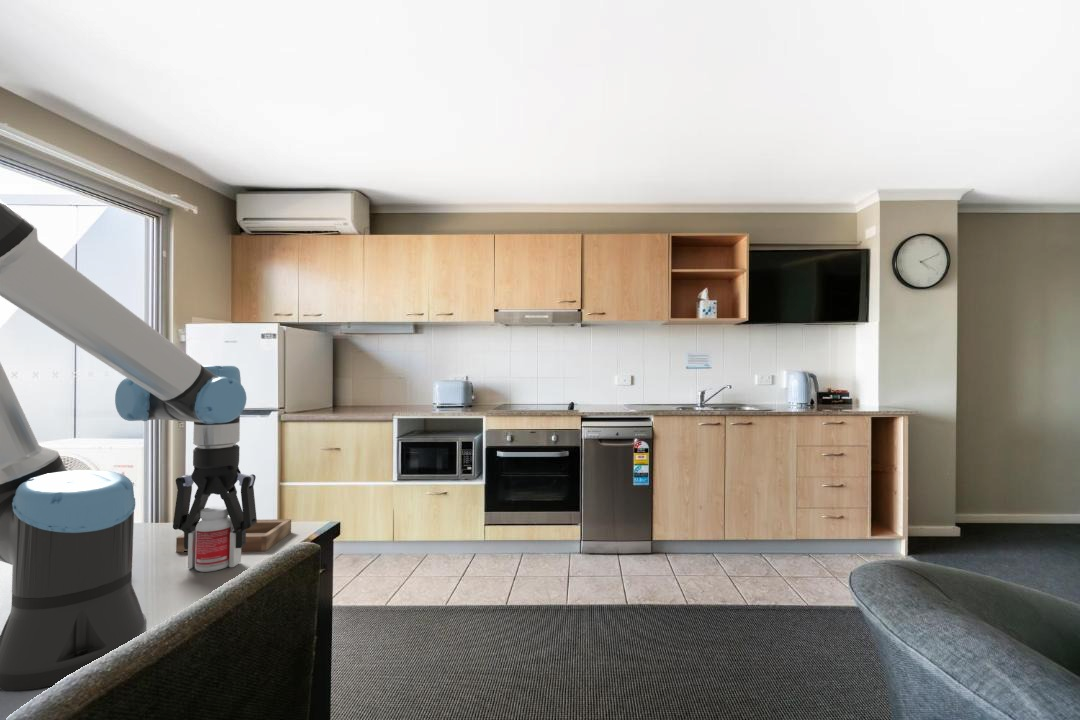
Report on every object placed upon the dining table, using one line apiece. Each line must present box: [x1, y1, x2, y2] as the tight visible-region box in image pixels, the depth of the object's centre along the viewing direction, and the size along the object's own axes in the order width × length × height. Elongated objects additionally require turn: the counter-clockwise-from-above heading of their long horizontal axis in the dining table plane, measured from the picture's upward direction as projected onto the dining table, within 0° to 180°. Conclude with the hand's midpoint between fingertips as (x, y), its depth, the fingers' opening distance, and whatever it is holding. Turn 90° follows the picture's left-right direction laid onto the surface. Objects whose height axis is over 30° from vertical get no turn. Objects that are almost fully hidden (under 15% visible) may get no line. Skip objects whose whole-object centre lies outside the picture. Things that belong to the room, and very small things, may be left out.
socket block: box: [175, 518, 292, 553], centre depth 110 cm, size 12×18×3 cm, turn 94°
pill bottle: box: [194, 505, 234, 573], centre depth 96 cm, size 6×6×11 cm
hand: (214, 564), depth 96 cm, fingers open, 7 cm apart
